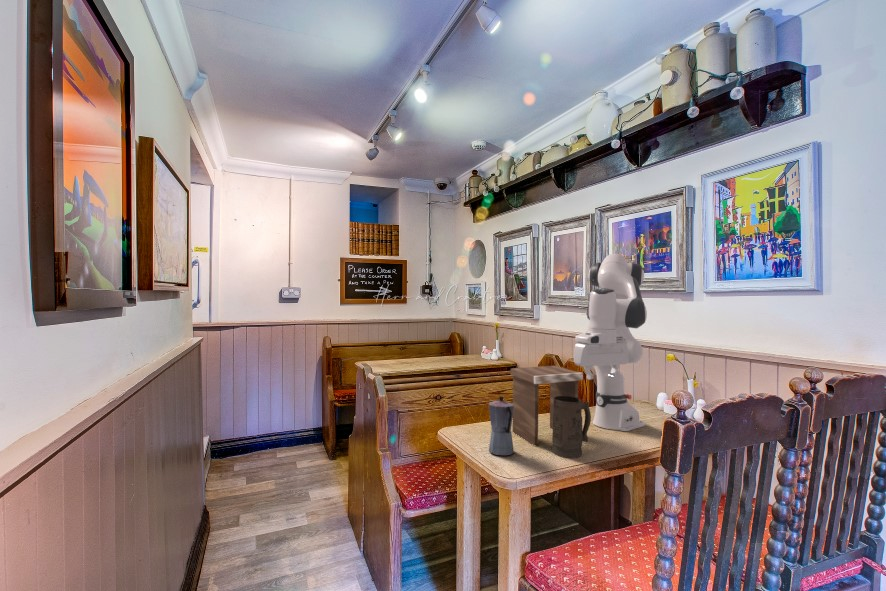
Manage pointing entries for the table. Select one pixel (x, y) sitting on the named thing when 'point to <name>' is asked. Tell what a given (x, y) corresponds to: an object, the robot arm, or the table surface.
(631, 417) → the robot arm
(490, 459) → the table surface
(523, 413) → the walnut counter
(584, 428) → the beer stein
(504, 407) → the moka pot
